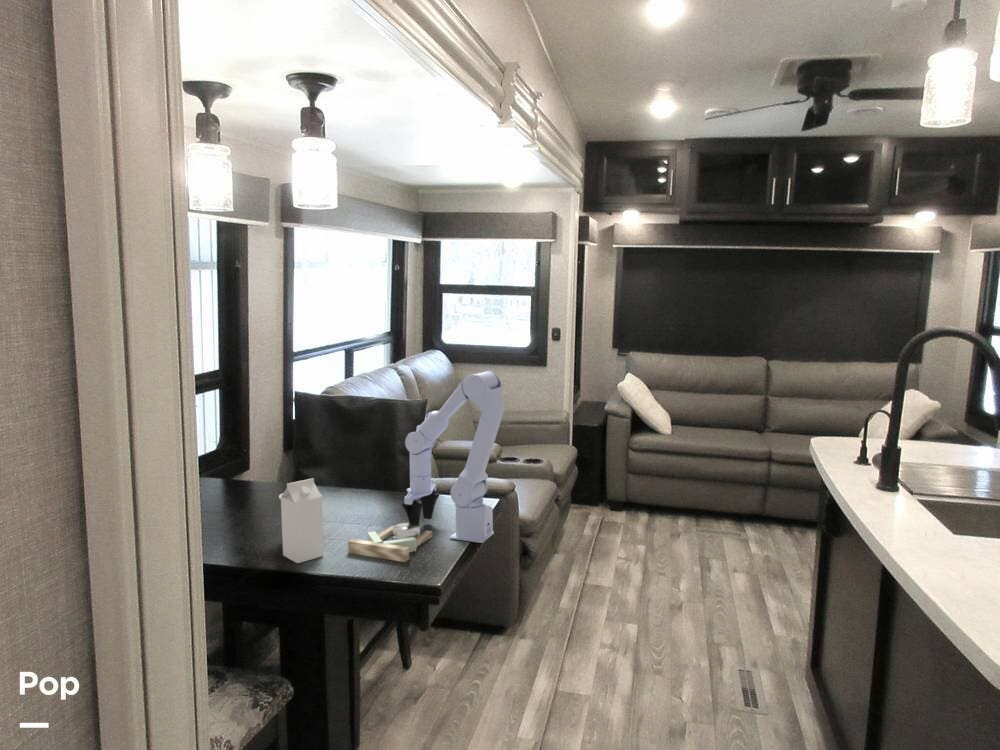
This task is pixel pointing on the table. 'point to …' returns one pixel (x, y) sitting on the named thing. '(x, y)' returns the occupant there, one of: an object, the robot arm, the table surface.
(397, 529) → the aluminium cover
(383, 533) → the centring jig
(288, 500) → the milk carton
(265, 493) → the table surface
